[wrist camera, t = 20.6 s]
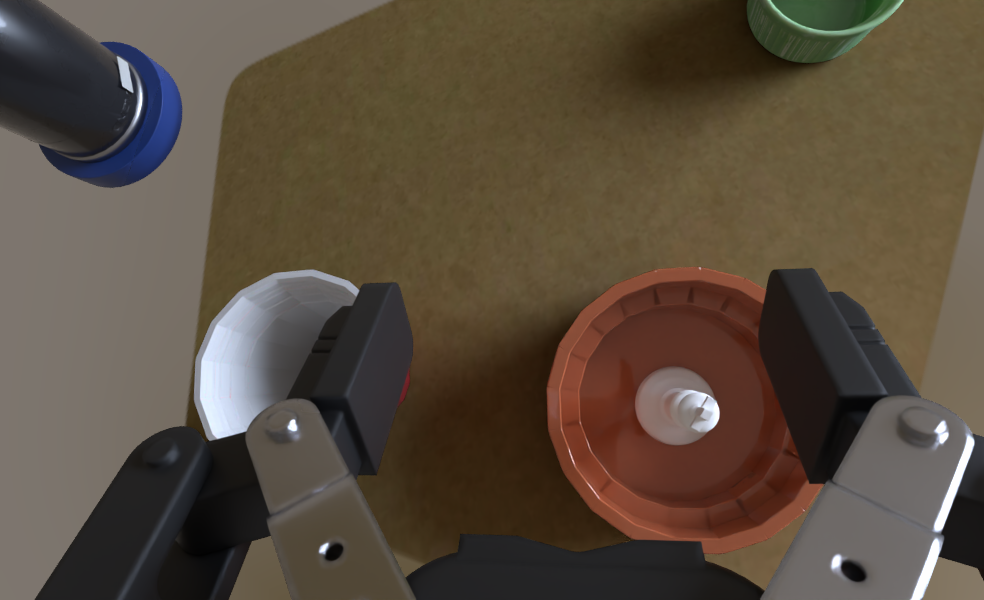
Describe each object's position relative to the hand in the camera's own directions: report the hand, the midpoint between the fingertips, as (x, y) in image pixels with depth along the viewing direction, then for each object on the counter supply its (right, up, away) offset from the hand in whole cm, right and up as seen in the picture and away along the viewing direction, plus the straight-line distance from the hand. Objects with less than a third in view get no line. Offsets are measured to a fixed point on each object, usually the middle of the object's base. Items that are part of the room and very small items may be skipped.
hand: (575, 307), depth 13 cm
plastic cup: (-10, -5, +28) cm, 31 cm away
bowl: (+10, -6, +25) cm, 27 cm away
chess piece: (+10, -7, +24) cm, 27 cm away
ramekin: (+20, +20, +27) cm, 39 cm away
